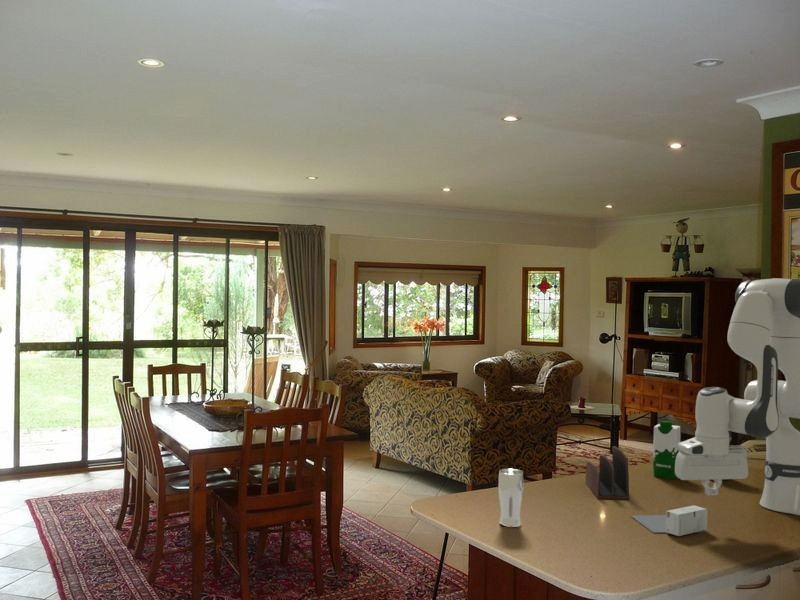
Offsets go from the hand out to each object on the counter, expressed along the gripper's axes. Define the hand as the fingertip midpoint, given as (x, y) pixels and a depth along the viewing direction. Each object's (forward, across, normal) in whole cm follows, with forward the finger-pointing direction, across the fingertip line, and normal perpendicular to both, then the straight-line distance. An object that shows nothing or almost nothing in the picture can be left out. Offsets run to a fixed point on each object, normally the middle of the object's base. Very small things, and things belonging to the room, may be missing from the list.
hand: (711, 494), depth 208 cm
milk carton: (+10, -14, -57) cm, 59 cm away
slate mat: (+9, +12, -2) cm, 15 cm away
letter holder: (+10, +16, -38) cm, 42 cm away
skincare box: (+6, +4, +2) cm, 7 cm away
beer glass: (+8, +57, -4) cm, 58 cm away
